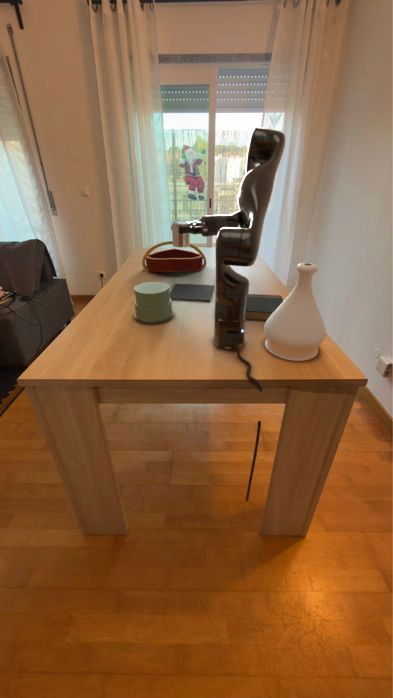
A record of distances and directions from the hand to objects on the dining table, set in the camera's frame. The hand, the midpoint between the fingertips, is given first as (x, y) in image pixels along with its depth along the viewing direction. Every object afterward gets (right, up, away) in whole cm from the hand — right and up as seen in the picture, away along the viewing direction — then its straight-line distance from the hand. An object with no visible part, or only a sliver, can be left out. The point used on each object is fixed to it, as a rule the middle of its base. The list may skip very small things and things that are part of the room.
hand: (175, 229), depth 106 cm
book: (+28, -30, +3) cm, 42 cm away
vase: (+37, -44, -20) cm, 61 cm away
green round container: (-8, -33, -2) cm, 34 cm away
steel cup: (+2, -5, +4) cm, 6 cm away
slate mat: (+6, -20, +18) cm, 28 cm away
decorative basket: (-4, -2, +46) cm, 47 cm away
